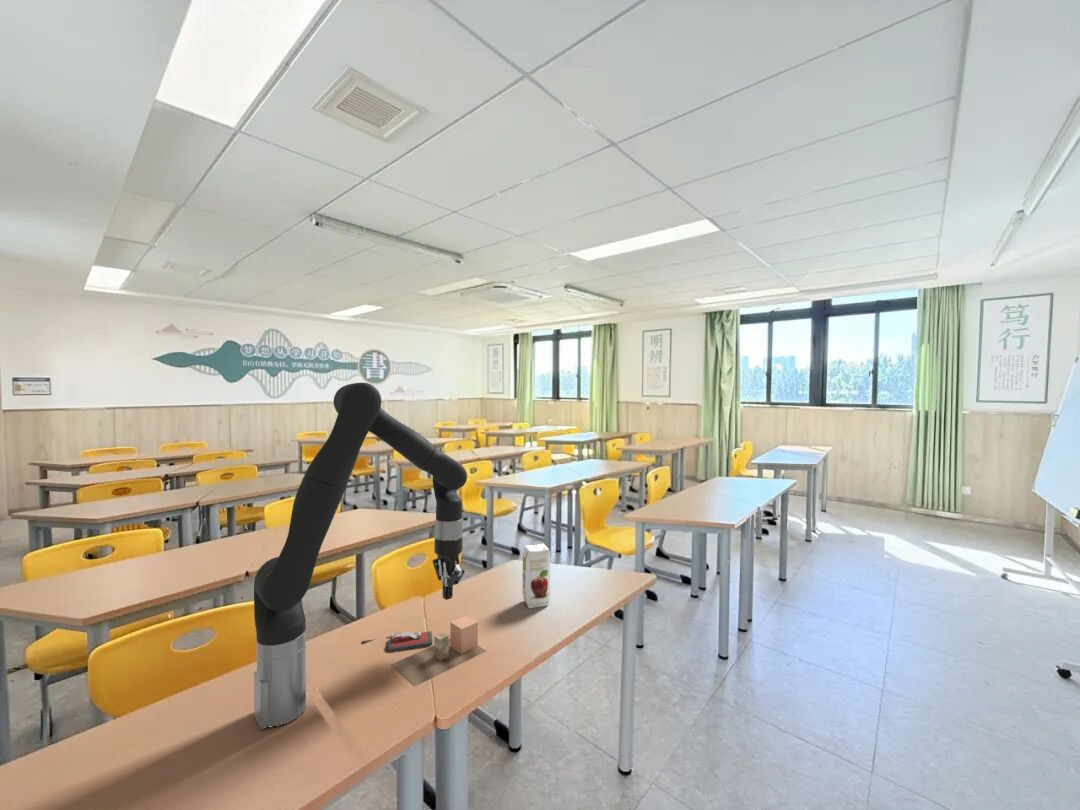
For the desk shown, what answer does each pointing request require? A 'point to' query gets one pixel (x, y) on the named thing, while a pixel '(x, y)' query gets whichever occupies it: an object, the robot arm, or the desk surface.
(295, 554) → the robot arm
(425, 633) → the walkie-talkie
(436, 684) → the desk surface
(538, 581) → the juice carton
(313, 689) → the desk surface
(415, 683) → the board
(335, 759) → the desk surface
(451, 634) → the peach cube
